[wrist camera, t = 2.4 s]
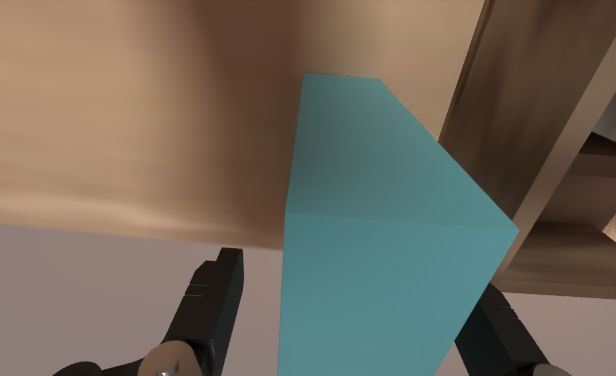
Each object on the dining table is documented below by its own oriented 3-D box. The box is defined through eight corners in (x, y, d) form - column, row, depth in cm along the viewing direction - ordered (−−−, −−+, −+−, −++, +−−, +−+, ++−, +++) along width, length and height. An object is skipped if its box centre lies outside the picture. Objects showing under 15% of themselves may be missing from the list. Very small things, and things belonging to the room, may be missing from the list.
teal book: (294, 208, 23) (274, 432, 11) (303, 72, 17) (284, 213, 5) (352, 212, 23) (396, 438, 11) (378, 79, 18) (520, 229, 6)
